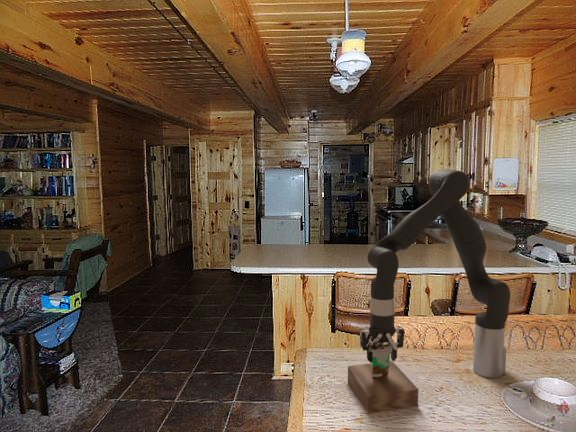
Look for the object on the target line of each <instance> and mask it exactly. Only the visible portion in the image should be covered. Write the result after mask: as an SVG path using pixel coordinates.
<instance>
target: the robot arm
mask: <svg viewBox="0 0 576 432" xmlns="http://www.w3.org/2000/svg"><path fill="white" fill-rule="evenodd" d="M470 184H471V183H470V178H469V176H468V175H467V174H466V172H464V171H461V170H455V169H448V168H447V169H441V168H440V169H436V170H434V171H432V172H431V174H430V176H429V179H428V189H429V191H430V194H431V198H430V199H429V200H428V201H427V202H425V203H424V204H422V205H421V206H420V207H418V208H417V209H415V210H413V211H411V212H410V213H409V214H407V215H406V216H405V217H403V219H401V221H400V222H398V224H397V225H396V226H395V227H394V228H393V230H392V231H391V232H390V233H388V234H387V235H385V236H384V237H383V238H381V239H379V241H377V242H376V243H375V244H374V245H372V247H371V249H369V250H368V253H367V261H368V264H369V265H370V266H371V267H372V268H374V269H376V275H375V277H373V278H372V279H371V282H370V300H369V301H370V302H369V328H368V329H360V330H359V340H360V347H361V348H362V351H366V359H367V361H368V362H369V364H370V363H373V347H375V346H376V345H377V343H382V342H385V343H386V342H388V341H389V342H390V343H391V345H392V349H393V350H392V352H391V353H390V360H391V361H393V362H395V361H396V359H397V358H398V349H402V348H403V347H404V343H405V329H404V328H402V326H398V327H395V311H396V307H395V282H396V279H397V275H398V271H399V266H400V265H399V258H398V255H397V252H399V251H406V250H407V249H409V248H410V247H411V245H413V244H414V242H415V241H416V240H417V239H418V238H419V237H420V236H421V235H422V233H423V232H425V230H426V229H427V228H428V227H429V226H430V225H431V224H433V223H434V222H435V221H436V220H437V219H439V218H440V217H441V216H442V217H443V219H444V222H445V224H446V226H447V229H448V232H449V233H450V237H451V239H452V241H453V244H454V247H455V250H456V252H457V254H458V256H459V259H460V261H461V264H462V266H463V269H464V272H465V276H466V277H467V281H468V283H467V284H468V285H469V289H470V293H471V295H472V297H473V298H474V299H475V301H477V302H478V303H481V304H484V305H486V311H481V312H478V313H477V314H475V316H474V317H475V320H474V321H475V322H474V340H473V341H474V342H473V343H474V344H473V363H472V365H473V366H472V367H473V368H472V370H473V372H474V373H476V374H477V375H479V376H481V377H484V378H489V379H491V378H492V379H498V378H500V377H502V376H503V375H506V364H507V362H506V361H507V347H505V333H506V331H505V330H506V321H507V320H508V317H509V309H510V302H511V290H510V286H509V285H508V284H507V283H506V282H504V281H501V280H498V279H495V278H493V277H490V276H489V275H488V273H487V271H486V269H485V265H484V259H485V257H486V252H487V242H486V238H485V237H484V234H483V231H482V229H481V226H480V225H479V224H478V223H477V221H476V220H475V219H474V218H473V217H472V215H471V214H470V213H469V212H468V211H467V210H466V208H465V207H464V205H462V203H461V199H462V198H463V197H465V196H466V194H467V192H468V191H469V189H470ZM395 334H396V335H397V336H396V342H395V340H394V339H393V336H394V335H395ZM369 335H370V337H369V339H368V343H367V338H368V336H369Z"/></svg>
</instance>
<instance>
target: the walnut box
mask: <svg viewBox="0 0 576 432" xmlns="http://www.w3.org/2000/svg"><path fill="white" fill-rule="evenodd" d="M347 383H348V384H349V386H350V387H351V389H352V390H353V392H354V394H355V396H356V397H357V399H358V400H359V402H360V403H361V405H362V406H363V408H364V409H365V412H366V413H367V414H374V413H375V414H376V413H382V412H387V411H389V412H390V411H395V410H401V409H409V408H416V407H419V388H418V387H417V386H416V385H415V384H414V382H412V381H411V380H410V378H409V377H408V376H407V375H406V374H405V372H403V371H402V370H401V369H400V368H399V367H398V365H396V363H395V361H392V360H389V371H388V375H387V376H386V377H384V378H381V379H372V363H370V362H369V363H363V364H354V365H348V366H347Z"/></svg>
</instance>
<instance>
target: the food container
mask: <svg viewBox="0 0 576 432" xmlns="http://www.w3.org/2000/svg"><path fill="white" fill-rule="evenodd" d="M392 350H393V349H392V345H391V343H390V342H389V341H388V342H386V343H385V342H382V343H377V345H376V346H375V347H373V350H372V352H373V363H372V379H381V378H384V377H386V376H387V375H388V371H389V361H391V352H392Z"/></svg>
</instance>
